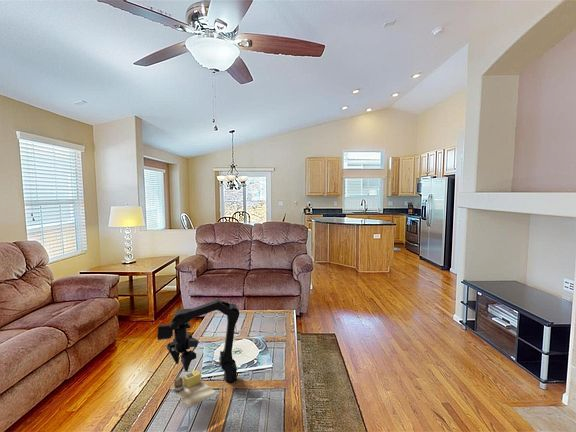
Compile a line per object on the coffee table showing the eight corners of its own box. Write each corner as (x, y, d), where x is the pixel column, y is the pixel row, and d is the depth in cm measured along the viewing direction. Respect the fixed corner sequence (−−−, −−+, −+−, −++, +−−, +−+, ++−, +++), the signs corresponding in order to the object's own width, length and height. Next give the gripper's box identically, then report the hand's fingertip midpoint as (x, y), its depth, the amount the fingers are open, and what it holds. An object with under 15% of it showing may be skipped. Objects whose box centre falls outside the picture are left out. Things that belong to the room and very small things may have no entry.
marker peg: (184, 389, 152) (183, 379, 152) (176, 392, 150) (175, 383, 149) (181, 385, 155) (180, 376, 155) (173, 389, 153) (173, 379, 152)
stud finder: (200, 382, 158) (200, 373, 158) (187, 388, 153) (187, 378, 153) (196, 378, 161) (196, 369, 161) (183, 383, 157) (183, 374, 156)
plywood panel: (216, 394, 150) (216, 393, 150) (189, 409, 140) (189, 407, 140) (195, 376, 164) (195, 375, 164) (169, 388, 154) (169, 387, 154)
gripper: (205, 337, 151) (206, 368, 153) (186, 325, 164) (187, 354, 165) (184, 345, 143) (185, 378, 145) (165, 332, 156) (167, 362, 157)
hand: (181, 367), depth 153 cm, fingers open, 9 cm apart
